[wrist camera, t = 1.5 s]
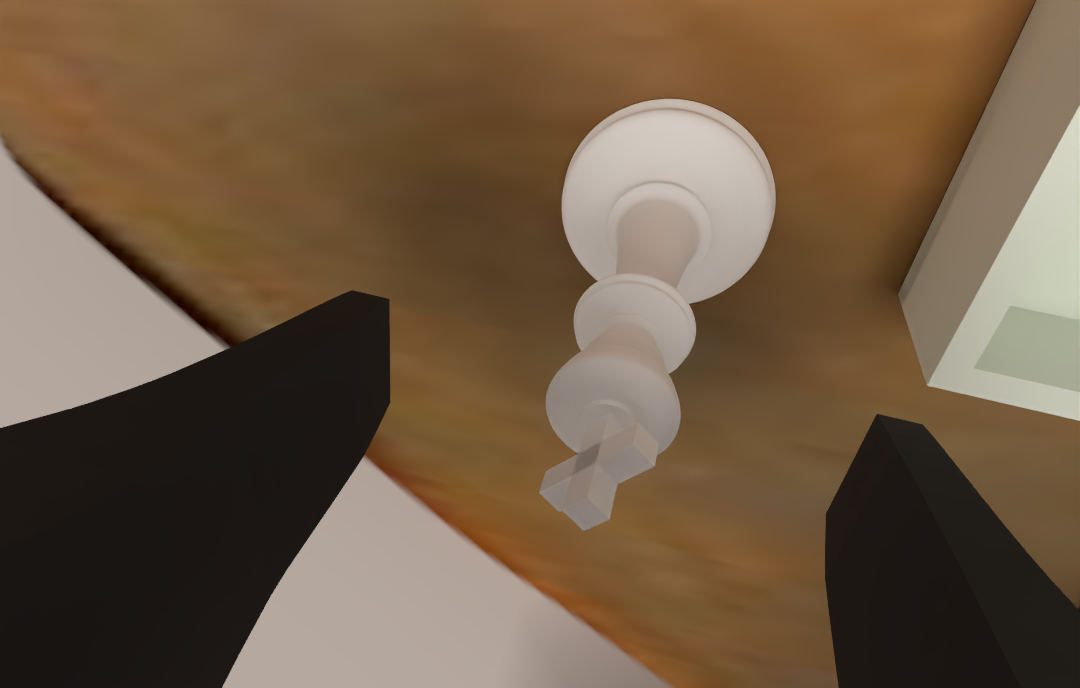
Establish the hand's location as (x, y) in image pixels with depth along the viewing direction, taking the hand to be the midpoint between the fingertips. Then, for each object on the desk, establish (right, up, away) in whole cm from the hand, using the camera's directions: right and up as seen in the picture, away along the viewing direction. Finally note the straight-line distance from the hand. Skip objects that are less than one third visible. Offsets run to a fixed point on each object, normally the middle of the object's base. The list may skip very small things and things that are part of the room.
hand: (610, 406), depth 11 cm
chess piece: (+2, +4, +7) cm, 8 cm away
